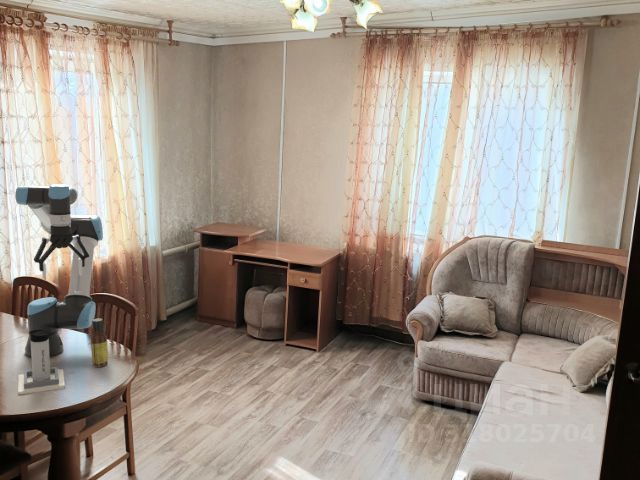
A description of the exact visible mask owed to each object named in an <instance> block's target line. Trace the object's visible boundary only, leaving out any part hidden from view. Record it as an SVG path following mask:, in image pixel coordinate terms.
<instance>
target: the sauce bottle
mask: <svg viewBox="0 0 640 480" xmlns="http://www.w3.org/2000/svg"><path fill="white" fill-rule="evenodd" d="M103 322H104V321H103V319H102V318H99V317H97V318H94V319H93V320H92V333H91V335H90V349H91V351H90V352H91V363H92V366H93V367H95V368H103V367H105V366H106V367H107V365H108V363H109V356H108V340H107V335H106V333H105V331H104V329H103Z"/></svg>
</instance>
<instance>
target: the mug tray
mask: <svg viewBox="0 0 640 480" xmlns="http://www.w3.org/2000/svg"><path fill="white" fill-rule="evenodd" d="M17 381H18V382H17V383H18V384H17V385H18V387H17V395H19V396H20V395H25V394H33V393H38V392H39V393H40V392H45V391H47V392H48V391H54V390H60V389H61V390H62V389H66V384H65V383H66V382H65V374H64V369H63V368H61V369H60V368H59V367H58V366H56V367H50V379H49V380H42V381H34V382H33V377H32V369H31V370H24V371H23V373H21V374H18V380H17Z"/></svg>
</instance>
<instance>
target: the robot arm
mask: <svg viewBox="0 0 640 480" xmlns="http://www.w3.org/2000/svg"><path fill="white" fill-rule="evenodd" d="M14 195H15V201H16V203H17V204H18V205H22V206H28V207H29V209H30V210H31V212H32V213H33V214H34V215H35V216H36V217H37V219H38V220H39V221H40V226H41V227H42V229H43V230H44V231H45V232H47V233H48V234H49V235H50V237H44V236H43V237H42V238H41V243H40V245H39V247H38V249H37V252H36V254H35V256H34V258H33V261H34V263H38V267H39V268H38V269H39V271H40V272H42V273H41V274H42V279H43V280H44V281H47V267H46V266H47V264H46V263H45V261H46V260H47V259H48V257H50V255H51V254H52V253H53V252H54V251H55V250H56V249H66V248H68V247H69V248H70V249H71V250H72V252H73V253H72V254H73V255H72V261H71V270H70V277H69V278H70V279H69V285H68V293H67V294H66V295H65V296H64V297H63V301H58V299H57V298H56V297H52V296H50V297H42V298H37V299H35V300H33V301H31V302H29V303H28V305H27V313H26V315H27V327H28V330H27V331H28V337H27V340H26V345H25V347H24V353H25V356H27V357H30V358H31V337H30V334H29V332H30V331H31V330H45V331H47V332H48V338H49V358H50V357H54V356H56V355H59V354H61V353H62V352H63V351H64V344H63V343H64V342H63V340H62V338H61V336H60V334H59V330H64V329H66V330H67V329H69V330H70V329H71V330H72V329H74V330H75V329H77V330H81V329H87V328H91V326H93V324H92V320H93V319H95V315H96V302H94V301H93V298H92V297H91V296H90V291H91V280H92V279H91V278H92V271H93V263H94V262H93V261H94V255H95V248H96V247H97V246H98V245H99V242H101V241H103V238H104V233H103V232H104V231H103V223H102V220H101V218H100V217H99V216H98V215H94V214H93V215H92V214H89V215H88V214H85V215H84V214H71V213H72V212H71V205H73V204H75V202H76V201H77V199H78V197H79V194H78V191H77V190H76V188H74V187H73V186H71V185H67V184H59V183H58V184H51V185H50V186H44V185H43V186H39V185H38V186H37V185H22V186H21V185H18V187H17V188H16V190H15V194H14ZM48 243H51V244H50V245H49V247H48V248H47V250H46V251H45V249H46V246H47V244H48ZM44 251H45V252H44Z"/></svg>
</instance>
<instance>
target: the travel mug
mask: <svg viewBox="0 0 640 480" xmlns="http://www.w3.org/2000/svg"><path fill="white" fill-rule="evenodd" d="M29 334H30V337H31V357H30V358H31V370H32V377H33V382H34V381H42V380H49V379H50V368H51V363H50V362H51V361H50V359H51V358H50V357H49V338H48V332H47V331H45V330H31V331H30V332H29V331H28V335H29Z"/></svg>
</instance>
